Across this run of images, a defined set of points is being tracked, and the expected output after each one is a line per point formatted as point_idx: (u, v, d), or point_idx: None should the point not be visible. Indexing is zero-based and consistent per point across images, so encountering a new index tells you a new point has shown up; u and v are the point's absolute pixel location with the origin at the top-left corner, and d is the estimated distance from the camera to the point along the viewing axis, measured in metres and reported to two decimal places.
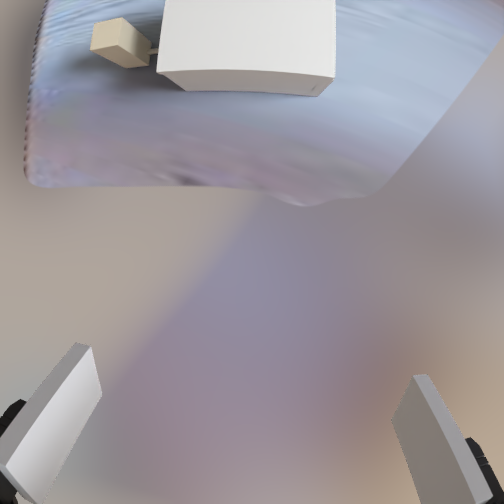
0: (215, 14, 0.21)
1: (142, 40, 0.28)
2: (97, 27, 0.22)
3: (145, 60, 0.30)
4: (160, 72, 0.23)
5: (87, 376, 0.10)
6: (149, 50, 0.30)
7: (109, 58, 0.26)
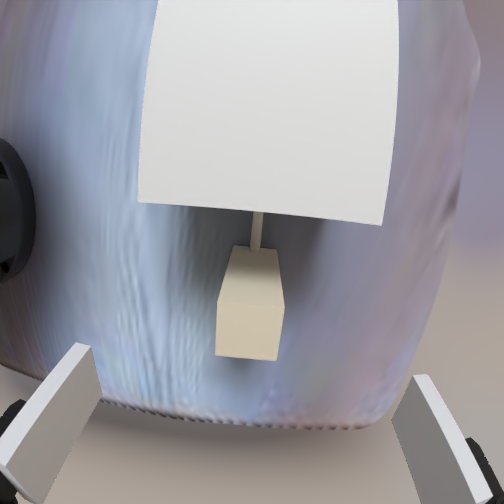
0: (262, 92, 0.11)
1: (240, 259, 0.21)
2: (228, 350, 0.16)
3: (273, 254, 0.22)
4: None
5: (87, 376, 0.10)
6: (254, 248, 0.22)
7: None
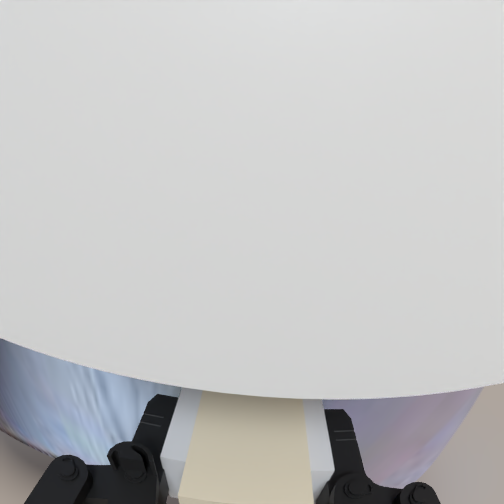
0: None
1: None
2: None
3: None
4: None
5: None
6: None
7: None
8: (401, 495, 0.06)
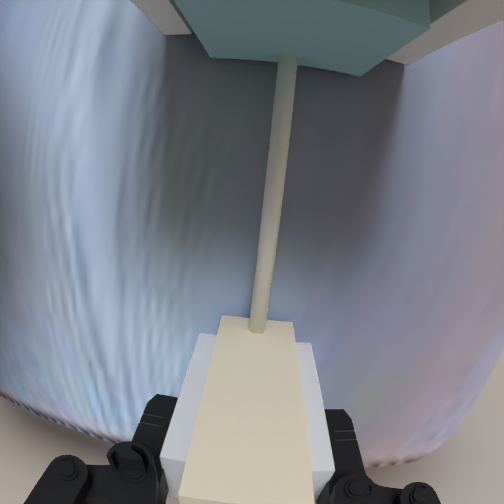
0: None
1: (231, 356, 0.11)
2: None
3: (287, 336, 0.13)
4: None
5: None
6: (256, 326, 0.13)
7: None
8: (402, 495, 0.06)
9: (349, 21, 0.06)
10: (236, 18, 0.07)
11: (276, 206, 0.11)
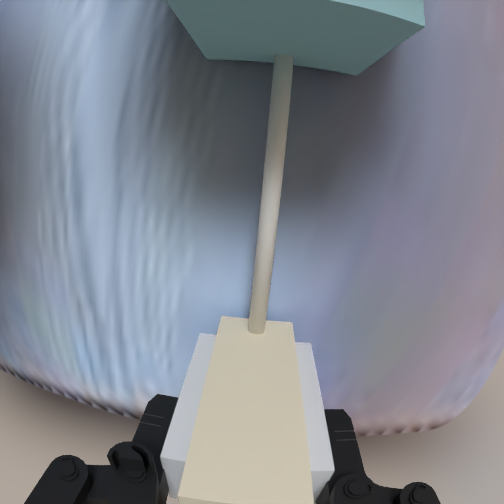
0: None
1: (230, 356, 0.11)
2: None
3: (287, 336, 0.13)
4: None
5: None
6: (255, 327, 0.13)
7: None
8: (401, 495, 0.06)
9: (343, 20, 0.06)
10: (230, 19, 0.07)
11: (274, 207, 0.11)
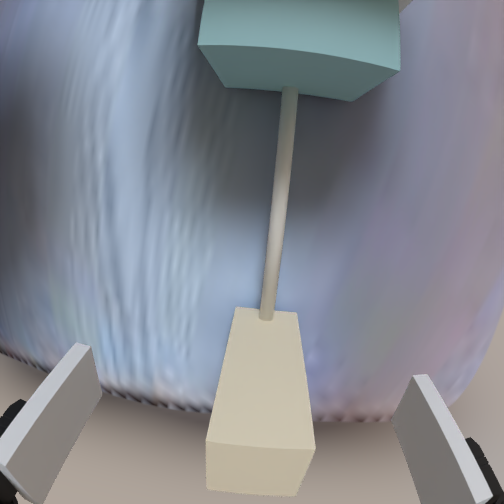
0: None
1: (245, 338, 0.14)
2: (225, 486, 0.09)
3: (292, 323, 0.15)
4: None
5: (87, 376, 0.10)
6: (265, 315, 0.15)
7: None
8: None
9: (337, 66, 0.08)
10: (249, 63, 0.09)
11: (282, 213, 0.14)
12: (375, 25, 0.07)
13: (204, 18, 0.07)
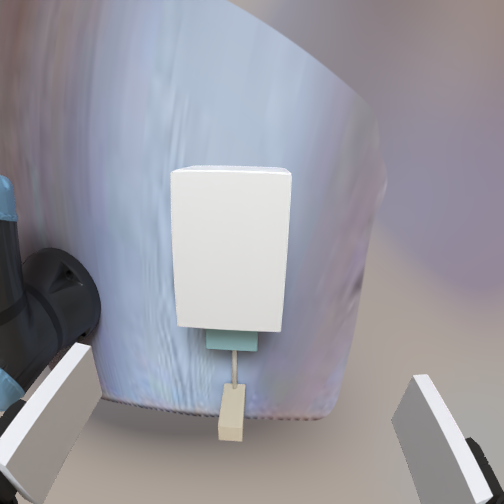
0: (224, 286, 0.29)
1: (227, 396, 0.42)
2: (223, 438, 0.37)
3: (243, 389, 0.44)
4: (280, 327, 0.31)
5: (87, 376, 0.10)
6: (233, 387, 0.44)
7: (243, 420, 0.41)
8: None
9: None
10: None
11: (235, 362, 0.42)
12: (250, 341, 0.36)
13: (206, 341, 0.36)
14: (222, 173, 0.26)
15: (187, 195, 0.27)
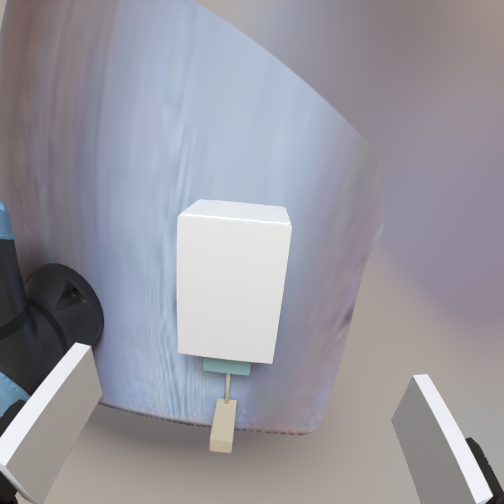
0: (223, 322, 0.32)
1: (219, 411, 0.44)
2: (214, 449, 0.40)
3: (234, 405, 0.46)
4: None
5: (87, 376, 0.10)
6: (226, 402, 0.46)
7: (233, 433, 0.43)
8: None
9: None
10: None
11: (228, 381, 0.44)
12: (244, 366, 0.38)
13: (203, 364, 0.38)
14: (226, 222, 0.28)
15: (192, 239, 0.29)
